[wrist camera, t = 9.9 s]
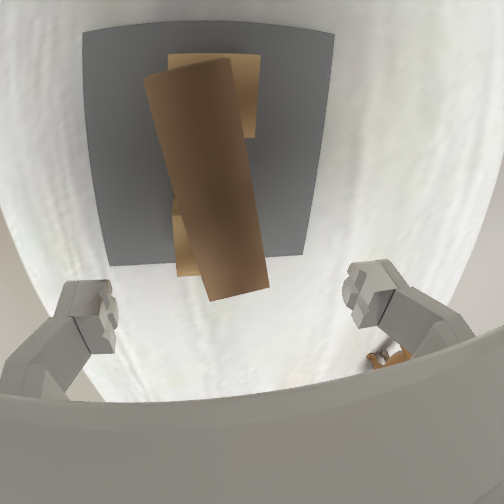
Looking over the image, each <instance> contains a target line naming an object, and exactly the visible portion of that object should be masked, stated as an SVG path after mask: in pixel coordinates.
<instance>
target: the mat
mask: <svg viewBox="0 0 504 504" xmlns="http://www.w3.org/2000/svg"><path fill="white" fill-rule="evenodd" d="M334 36H335V34H331V33H326V32H321V31H315V30H309V29H303V28H296V27H289V26H281V25H272V24H262V23H249V22H231V21H176V22H159V23H146V24H136V25H128V26H120V27H113V28H106V29H100V30H94V31H89V32H84V33H83V46H82V57H83V91H84V107H85V120H86V131H87V141H88V150H89V158H90V165H91V172H92V179H93V186H94V192H95V198H96V203H97V209H98V214H99V219H100V224H101V229H102V234H103V239H104V243H105V248H106V252H107V257H108V261H109V265H110V266H124V265H142V264H159V263H176V258H175V248H174V236H173V223H172V206H173V187H172V184H171V181H170V177H169V174H168V171H167V167H166V164H165V160H164V157H163V153H162V150H161V146H160V142H159V139H158V135H157V132H156V128H155V124H154V120H153V117H152V113H151V109H150V105H149V101H148V97H147V93H146V89H145V85H144V81H143V79H144V78H146V77H147V76H149V75H152V74H155V73H159V72H163V71H166V70H168V54H185V53H231V54H253V55H261V60H260V73H259V87H258V100H257V114H256V128H255V138H245V144H246V150H247V155H248V161H249V167H250V173H251V178H252V184H253V190H254V196H255V202H256V208H257V214H258V219H259V225H260V231H261V237H262V243H263V249H264V255H265V257H276V256H291V255H303V250H304V244H305V239H306V233H307V228H308V222H309V217H310V211H311V205H312V199H313V193H314V187H315V181H316V175H317V168H318V162H319V155H320V149H321V142H322V135H323V128H324V121H325V113H326V106H327V98H328V90H329V82H330V74H331V65H332V56H333V46H334Z"/></svg>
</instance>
